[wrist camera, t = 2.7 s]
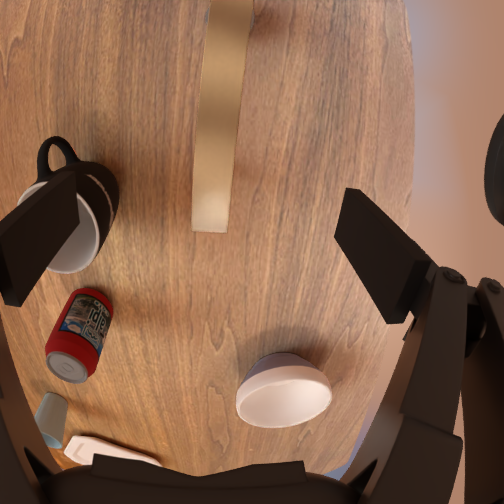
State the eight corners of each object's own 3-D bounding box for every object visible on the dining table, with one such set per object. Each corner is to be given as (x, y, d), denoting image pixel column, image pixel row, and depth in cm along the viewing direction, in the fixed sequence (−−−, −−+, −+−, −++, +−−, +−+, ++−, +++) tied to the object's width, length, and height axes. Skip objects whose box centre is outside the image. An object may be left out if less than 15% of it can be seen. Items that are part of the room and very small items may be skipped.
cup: (71, 413, 55) (61, 452, 46) (41, 400, 53) (28, 438, 44) (73, 398, 52) (62, 440, 43) (40, 384, 50) (26, 425, 41)
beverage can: (124, 309, 41) (104, 378, 31) (95, 327, 42) (73, 392, 32) (90, 275, 38) (58, 341, 27) (62, 297, 39) (31, 359, 29)
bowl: (289, 398, 55) (296, 432, 48) (218, 381, 50) (219, 419, 44) (339, 351, 49) (352, 388, 43) (263, 327, 44) (270, 368, 38)
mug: (139, 215, 34) (115, 265, 26) (75, 233, 34) (40, 281, 26) (108, 113, 28) (65, 130, 19) (41, 141, 28) (-11, 168, 19)
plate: (137, 476, 76) (136, 482, 74) (62, 450, 67) (61, 456, 65) (168, 457, 67) (168, 464, 65) (77, 425, 58) (75, 433, 56)
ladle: (209, 1, 23) (201, -50, 11) (254, 5, 24) (278, -43, 12) (192, 171, 32) (175, 230, 20) (234, 173, 33) (242, 234, 21)
